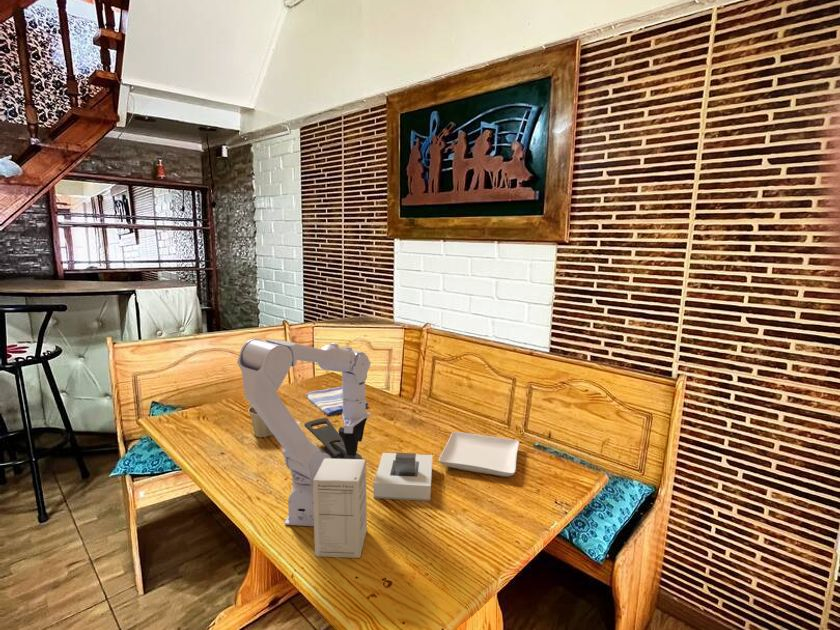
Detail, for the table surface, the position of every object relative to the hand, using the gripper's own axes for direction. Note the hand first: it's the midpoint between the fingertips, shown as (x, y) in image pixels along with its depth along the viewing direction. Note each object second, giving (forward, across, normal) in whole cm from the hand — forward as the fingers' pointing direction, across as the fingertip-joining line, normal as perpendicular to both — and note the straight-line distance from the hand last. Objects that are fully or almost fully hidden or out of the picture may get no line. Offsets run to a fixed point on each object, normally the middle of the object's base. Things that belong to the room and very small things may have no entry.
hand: (354, 447), depth 115 cm
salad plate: (+12, +18, -34) cm, 40 cm away
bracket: (+10, +2, -13) cm, 17 cm away
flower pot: (+11, +28, +35) cm, 46 cm away
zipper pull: (+11, +16, +10) cm, 22 cm away
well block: (+11, +2, -13) cm, 17 cm away
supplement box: (+10, -22, -2) cm, 25 cm away
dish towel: (+12, +59, +19) cm, 63 cm away
